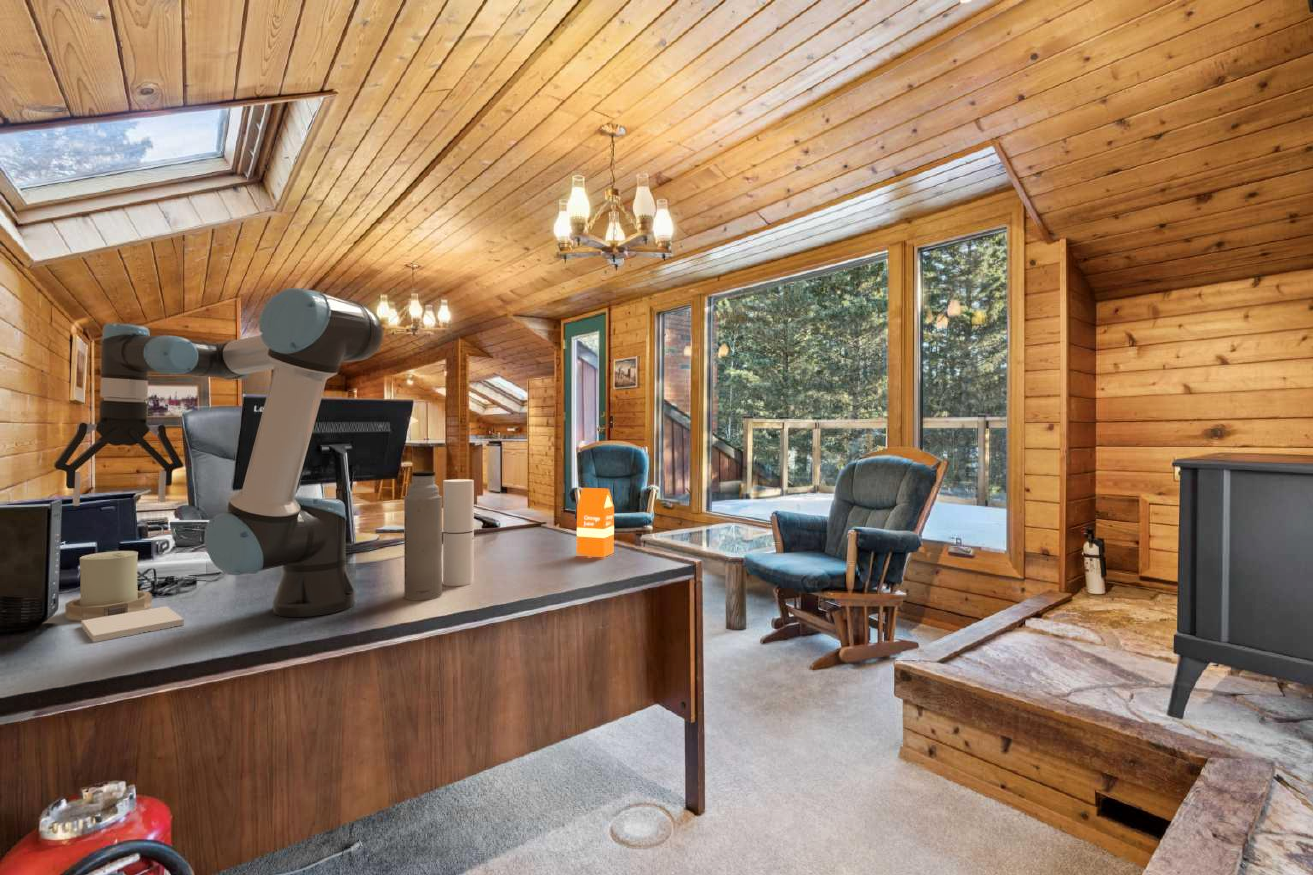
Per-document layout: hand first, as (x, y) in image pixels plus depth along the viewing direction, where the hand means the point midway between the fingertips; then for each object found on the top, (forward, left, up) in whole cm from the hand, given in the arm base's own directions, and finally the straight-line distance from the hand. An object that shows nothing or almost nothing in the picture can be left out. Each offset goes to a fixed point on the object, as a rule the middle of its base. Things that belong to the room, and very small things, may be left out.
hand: (120, 503), depth 132 cm
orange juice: (-31, -105, -22) cm, 112 cm away
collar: (0, +2, -22) cm, 22 cm away
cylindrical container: (-31, -59, -22) cm, 70 cm away
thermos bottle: (-36, -47, -22) cm, 63 cm away
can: (0, +2, -22) cm, 22 cm away
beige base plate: (-16, +1, -22) cm, 27 cm away
